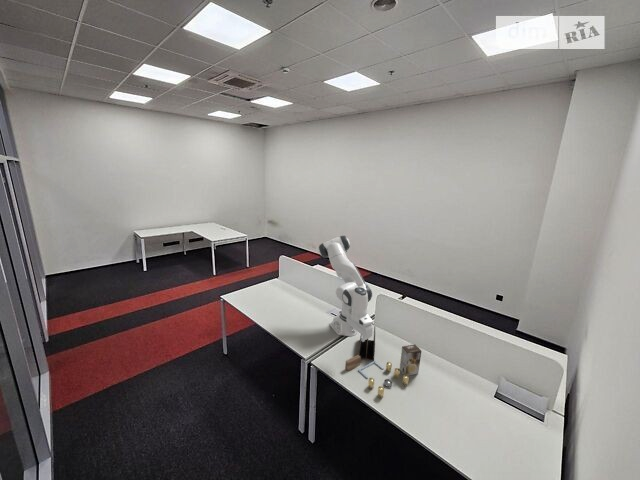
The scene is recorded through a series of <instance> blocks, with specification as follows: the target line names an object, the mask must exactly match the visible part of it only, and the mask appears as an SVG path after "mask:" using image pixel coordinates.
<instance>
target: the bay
mask: <svg viewBox="0 0 640 480" xmlns="http://www.w3.org/2000/svg"><path fill="white" fill-rule="evenodd" d="M374 364H375V365H376V366H377V367H379V368H380V369H381V370H384V367H383V366H382V365H380V364H379V363H378V362H376V360H374V361H370V362H369V363H368V364H366V365H364V366H363V367H361V368H359V369H358V370H357V371H358V372H359V373H360V374H361V375H362V376H363V378H364V377H365V379H367V380H369V376H367V375H366V373H364V372H363V370H365V369H366V368H369V367H370V366H372V365H374Z"/></svg>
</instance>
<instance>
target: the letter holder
mask: <svg viewBox="0 0 640 480" xmlns="http://www.w3.org/2000/svg"><path fill="white" fill-rule="evenodd" d="M373 329H374V331H373V339H372V340H371V339H369V338H368V339H366V338H365V341H364V342H362V341H361V338H363V337H362V335H361V334H360V337H359V338H360V339H359V347H358V355H359V356H360V357H361V360H365V361H370V362H373V361H375V355H376V353H375V352H376V350H375V349H376V326H375V325H374V326H373Z"/></svg>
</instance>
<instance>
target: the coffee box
mask: <svg viewBox="0 0 640 480" xmlns="http://www.w3.org/2000/svg"><path fill="white" fill-rule="evenodd" d="M400 354H401V356H400V362H399V369H400V372H401V373H402V374H403V375H408V376H413V375H418V374H419V371H420V365H421V357H422V350H421V349H420V347H418V345H416V344H410V345H409V344H408V345H403V346H402V347H401V353H400Z"/></svg>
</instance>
